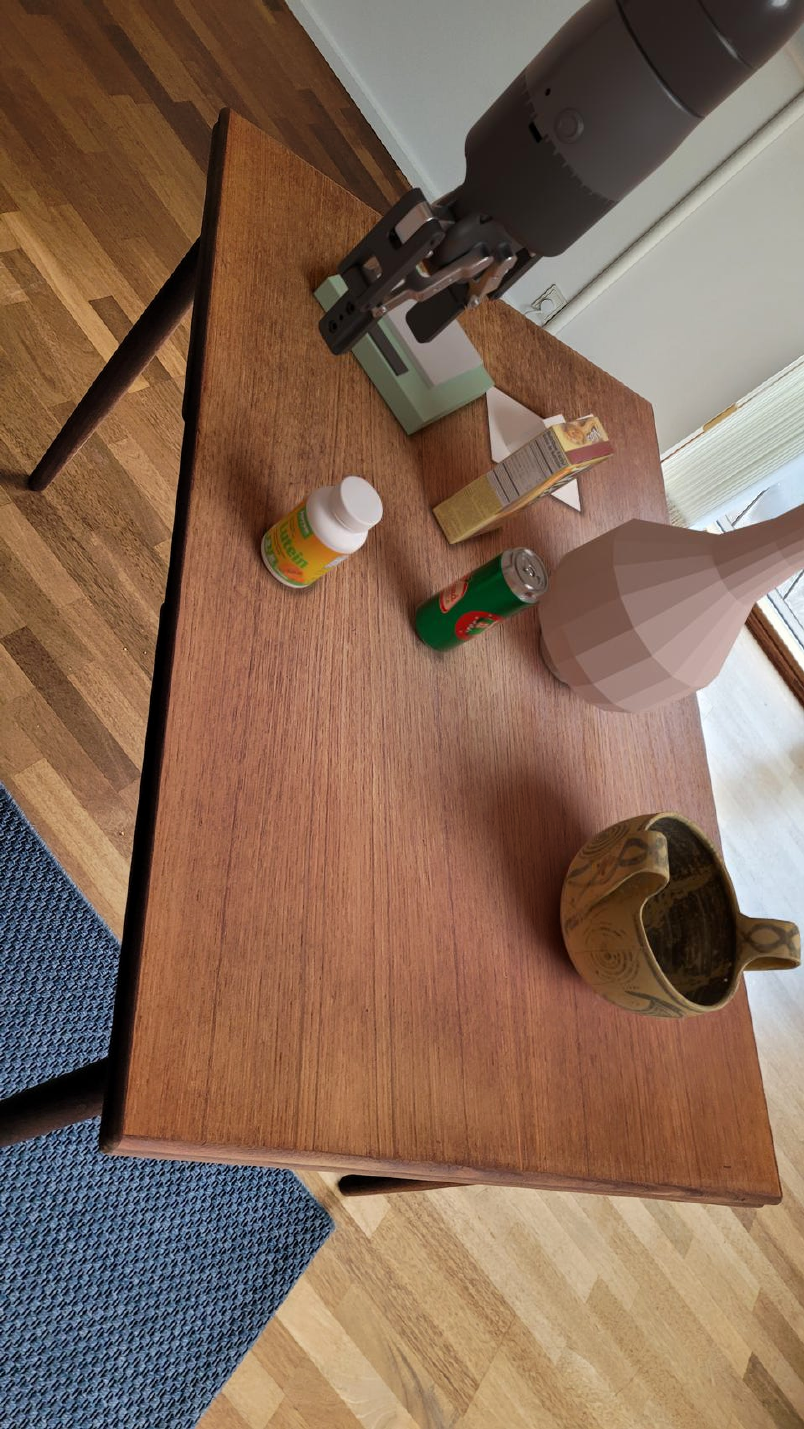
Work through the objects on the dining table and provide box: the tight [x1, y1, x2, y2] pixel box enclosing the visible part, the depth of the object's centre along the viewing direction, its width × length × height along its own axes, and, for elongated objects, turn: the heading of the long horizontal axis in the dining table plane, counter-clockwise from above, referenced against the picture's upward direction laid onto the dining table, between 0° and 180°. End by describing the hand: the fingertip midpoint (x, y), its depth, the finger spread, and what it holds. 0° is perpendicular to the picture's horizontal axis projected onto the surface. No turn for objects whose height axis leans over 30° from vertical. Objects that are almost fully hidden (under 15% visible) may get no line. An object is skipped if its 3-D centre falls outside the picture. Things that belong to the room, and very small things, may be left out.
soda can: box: [414, 546, 549, 653], centre depth 78 cm, size 5×5×12 cm
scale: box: [313, 264, 496, 436], centre depth 93 cm, size 16×16×3 cm
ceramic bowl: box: [559, 810, 802, 1020], centre depth 77 cm, size 22×17×15 cm
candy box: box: [432, 415, 615, 545], centre depth 85 cm, size 9×4×15 cm, turn 129°
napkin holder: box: [485, 386, 595, 512], centre depth 103 cm, size 15×11×6 cm
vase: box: [538, 502, 804, 715], centre depth 84 cm, size 18×18×30 cm
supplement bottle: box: [260, 475, 384, 589], centre depth 69 cm, size 5×5×10 cm
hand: (373, 336), depth 55 cm, fingers open, 8 cm apart
